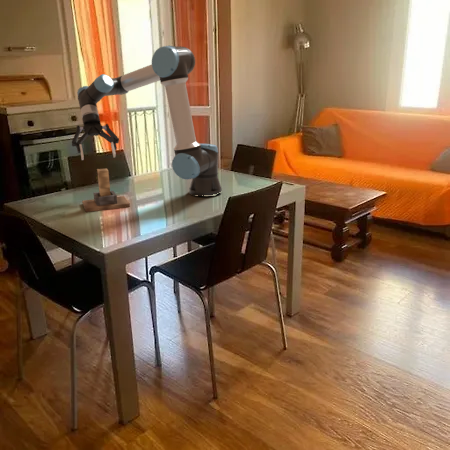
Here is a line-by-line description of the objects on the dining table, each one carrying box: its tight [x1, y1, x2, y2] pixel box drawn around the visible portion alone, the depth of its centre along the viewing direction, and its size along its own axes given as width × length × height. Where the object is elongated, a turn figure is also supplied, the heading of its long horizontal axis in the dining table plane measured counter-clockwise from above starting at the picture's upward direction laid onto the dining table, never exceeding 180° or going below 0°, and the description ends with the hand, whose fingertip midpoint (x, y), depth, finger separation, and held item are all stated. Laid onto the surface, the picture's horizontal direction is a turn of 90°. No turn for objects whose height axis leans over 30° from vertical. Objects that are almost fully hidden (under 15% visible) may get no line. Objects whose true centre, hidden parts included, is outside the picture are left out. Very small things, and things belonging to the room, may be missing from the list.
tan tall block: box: [96, 168, 111, 197], centre depth 192 cm, size 4×4×14 cm
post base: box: [81, 190, 131, 213], centre depth 194 cm, size 18×12×5 cm, turn 113°
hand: (98, 157), depth 198 cm, fingers open, 13 cm apart
